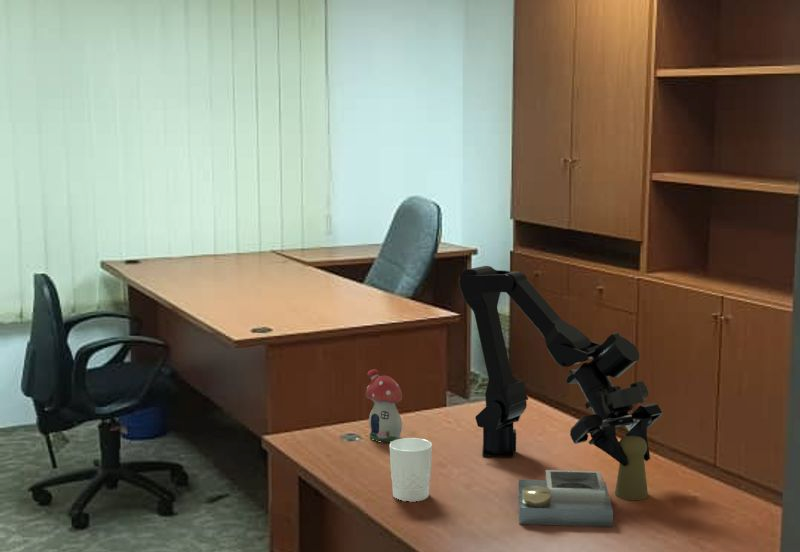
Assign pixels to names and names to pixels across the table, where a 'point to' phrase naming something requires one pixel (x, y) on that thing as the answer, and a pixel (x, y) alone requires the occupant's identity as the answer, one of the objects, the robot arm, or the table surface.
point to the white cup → (410, 468)
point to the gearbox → (565, 500)
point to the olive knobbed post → (632, 470)
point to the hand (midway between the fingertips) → (637, 462)
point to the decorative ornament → (384, 407)
